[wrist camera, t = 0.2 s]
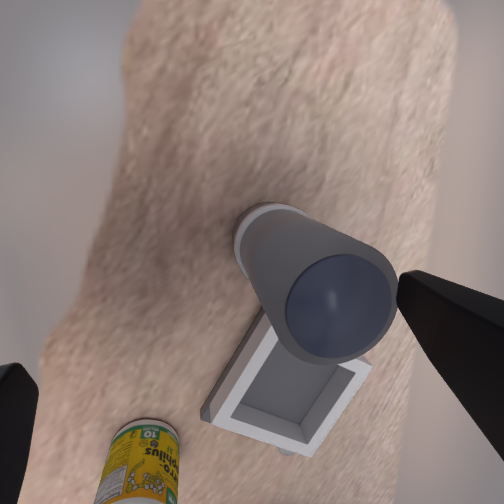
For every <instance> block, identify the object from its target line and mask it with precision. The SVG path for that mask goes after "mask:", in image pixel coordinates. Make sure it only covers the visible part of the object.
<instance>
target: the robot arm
mask: <svg viewBox="0 0 504 504" xmlns="http://www.w3.org/2000/svg"><path fill="white" fill-rule="evenodd" d="M396 303H397V306H398V308H399V310H400V312H401V313H402V315H403V317H404V318H405V320H406V322H407V323H408V325H409V327H410V329H411V330H412V332H413V334H414V335H415V337H416V339H417V340H418V342H419V344H420V345H421V347H422V349H423V351H424V352H425V353H426V355H427V357H428V358H429V360H430V361H431V363H432V364H433V366H434V367H435V368H436V370H437V371H438V373H439V374H440V375H441V377H442V378H443V379H444V381H445V382H446V383H447V385H448V386H449V387H450V389H451V390H452V391H453V393H454V394H455V395H456V397H457V398H458V399H459V401H460V402H461V404H462V405H463V407H464V408H465V409H466V411H467V412H468V413H469V415H470V416H471V417H472V419H473V420H474V421H475V423H476V424H477V426H478V427H479V428H480V430H481V431H482V432H483V434H484V435H485V436H486V438H487V439H488V441H489V442H490V443H491V445H492V446H493V447H494V449H495V450H496V451H497V452H498V454H499V455H500V457H501V458H502V460H503V461H504V300H501V299H498V298H495V297H493V296H490V295H487V294H484V293H482V292H478V291H476V290H473V289H470V288H468V287H465V286H462V285H459V284H456V283H454V282H451V281H448V280H445V279H442V278H440V277H437V276H434V275H431V274H428V273H426V272H423V271H420V270H413V271H408V272H404V273H402V274H401V275H400V277H399V282H398V288H397V294H396ZM38 396H39V391H38V387H37V384H36V383H35V381H34V380H33V379H32V377H31V376H30V375H29V374H28V372H27V371H26V370H25V368H24V367H23V366H22V365H21V364H20V363H10V364H6V365H1V366H0V504H17V502H18V498H19V494H20V491H21V487H22V483H23V480H24V476H25V472H26V467H27V462H28V457H29V452H30V446H31V439H32V433H33V427H34V421H35V415H36V409H37V403H38Z"/></svg>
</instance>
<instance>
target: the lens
mask: <svg viewBox="0 0 504 504" xmlns="http://www.w3.org/2000/svg"><path fill="white" fill-rule="evenodd" d="M233 245H234V252H235V257H236V260H237V262H238V264H239V267H240V269H241V270H242V272H243V274H244V275H245V276H246V277H247V278H248V279H249V280H250V282H251V284H252V286H253V288H254V290H255V292H256V294H257V296H258V298H259V300H260V302H261V304H262V306H263V308H264V311H265V313H266V315H267V317H268V319H269V321H270V323H271V325H272V327H273V329H274V331H275V333H276V335H277V337H278V339H279V341H280V342H281V344H282V345H283V346H284V348H285V349H286V350H287V351H288V352H289V353H291V354H292V355H293V356H295V357H296V358H298V359H300V360H302V361H305V362H307V363H311V364H316V365H336V364H342V363H345V362H348V361H351V360H353V359H356V358H358V357H359V356H361V355H363V354H365V353H366V352H367V351H369V350H370V349H371V348H373V347H374V346H375V345H376V344H377V343H378V342H379V341H380V340H381V339H382V338H383V336H384V335H385V334H386V332H387V331H388V329H389V328H390V326H391V324H392V322H393V320H394V318H395V315H396V312H397V308H398V306H397V303H396V294H397V288H398V279H397V276H396V273H395V271H394V269H393V267H392V265H391V264H390V262H389V261H388V260H387V258H386V257H385V256H384V255H383V254H382V253H381V252H379V251H378V250H376V249H375V248H373V247H371V246H369V245H367V244H365V243H363V242H361V241H358V240H356V239H354V238H352V237H350V236H347V235H345V234H343V233H341V232H339V231H337V230H334V229H332V228H330V227H328V226H326V225H324V224H321V223H319V222H317V221H315V220H313V219H311V218H310V217H309V216H308V215H307V214H305V213H304V212H303V211H301V210H299V209H297V208H294V207H292V206H289V205H286V204H278V203H270V202H266V203H260V204H256V205H254V206H252V207H250V208H249V209H247V210H246V211H245V212H244V213H243V214H242V215H241V216H240V217H239V219H238V220H237V222H236V224H235V227H234V231H233Z"/></svg>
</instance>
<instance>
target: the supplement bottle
mask: <svg viewBox="0 0 504 504" xmlns="http://www.w3.org/2000/svg"><path fill="white" fill-rule="evenodd" d="M178 474H179V438H178V435H177V433H176V432H175V430H174V429H173V428H172V427H171V426H169V425H168V424H166V423H164V422H162V421H157V420H150V419H144V420H138V421H134V422H132V423H130V424H128V425H126V426H125V427H123V428H122V429H121V430H120V431H119V432H118V433H117V434H116V435H115V437H114V439H113V440H112V443H111V445H110V448H109V452H108V455H107V459H106V462H105V466H104V469H103V473H102V476H101V480H100V484H99V487H98V490H97V494H96V497H95V501H94V504H177V497H178Z"/></svg>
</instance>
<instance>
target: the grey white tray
mask: <svg viewBox="0 0 504 504" xmlns="http://www.w3.org/2000/svg"><path fill="white" fill-rule="evenodd" d="M372 368H373V366H372V365H371V364H370V362H369V361H368V360H367V359H366V358H365V357H364V356H363V355H361V356H359V357H358V358H356V359H353V360H351V361H348V362H345V363H342V364H336V365H316V364H311V363H307V362H305V361H302V360H300V359H298V358H296V357H295V356H293V355H292V354H291V353H289V352H288V351H287V350H286V349H285V348H284V346H283V345H282V344H281V342H280V341H279V339H278V337H277V335H276V333H275V331H274V329H273V327H272V325H271V323H270V321H269V319H268V317H267V315H266V313H265V311H264V308H263V307H262V308H261V310H260V312H259V313H258V315H257V317H256V318H255V320H254V322H253V323H252V325H251V327H250V328H249V330H248V332H247V333H246V335H245V337H244V338H243V340H242V342H241V343H240V345H239V347H238V348H237V350H236V352H235V353H234V355H233V357H232V358H231V360H230V362H229V363H228V365H227V367H226V368H225V370H224V372H223V373H222V375H221V377H220V378H219V380H218V382H217V383H216V385H215V387H214V388H213V390H212V392H211V393H210V395H209V397H208V398H207V400H206V402H205V403H204V405H203V407H202V408H201V410H200V418H201V420H203V421H206V422H209V423H211V424H212V425H215V426H218V427H221V428H224V429H227V430H230V431H233V432H236V433H238V434H241V435H244V436H247V437H250V438H253V439H256V440H259V441H262V442H265V443H268V444H271V445H274V446H277V447H278V449H279V451H280V453H281V454H283V455H287V456H289V455H293V454H295V453H298V454H301V455H304V456H307V457H310V458H312V456H313V455H314V453H315V452H316V450H317V449H318V447H319V446H320V444H321V443H322V441H323V440H324V438H325V437H326V436H327V434H328V433H329V431H330V430H331V428H332V427H333V425H334V424H335V422H336V421H337V419H338V418H339V416H340V415H341V414H342V412H343V411H344V409H345V408H346V406H347V405H348V403H349V402H350V400H351V399H352V397H353V396H354V394H355V393H356V392H357V390H358V389H359V387H360V386H361V384H362V383H363V381H364V380H365V378H366V377H367V375H368V374H369V372H370V371H371V370H372Z"/></svg>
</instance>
